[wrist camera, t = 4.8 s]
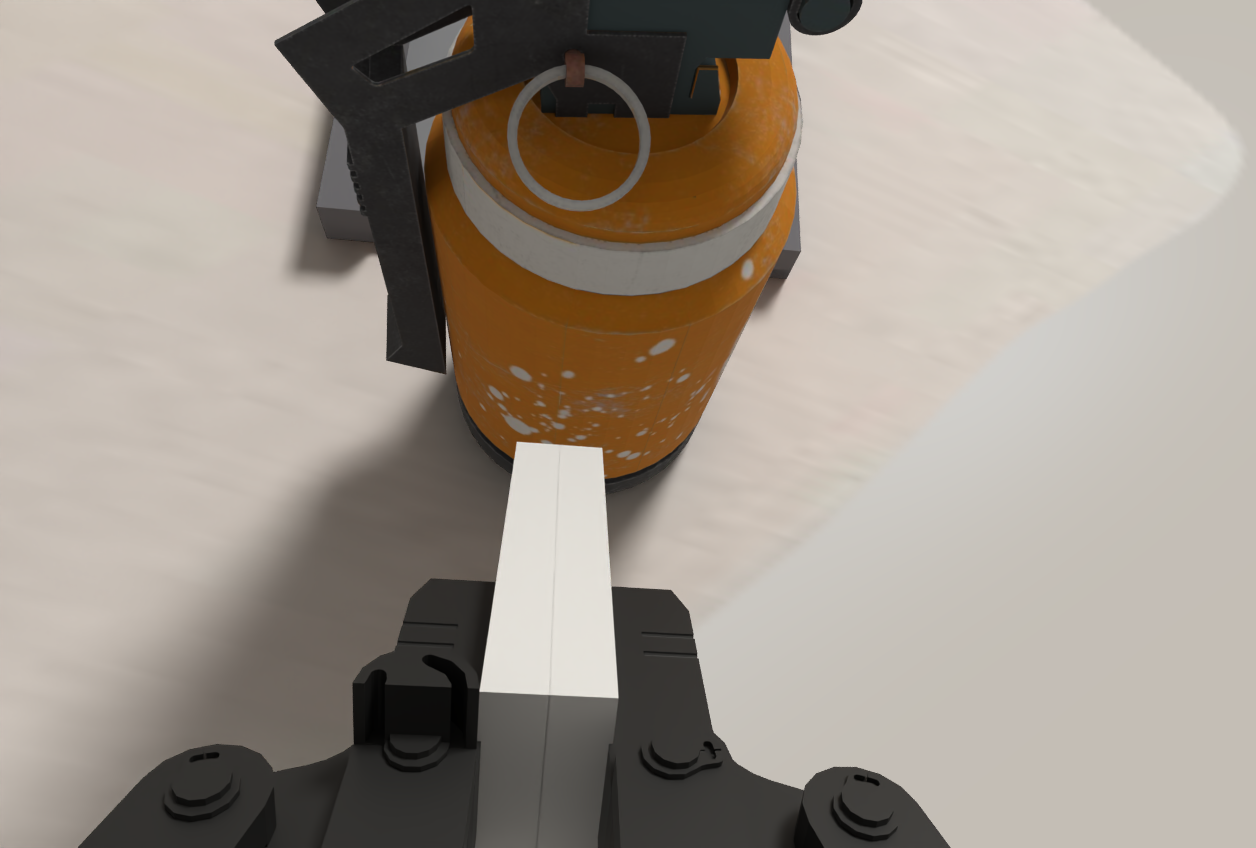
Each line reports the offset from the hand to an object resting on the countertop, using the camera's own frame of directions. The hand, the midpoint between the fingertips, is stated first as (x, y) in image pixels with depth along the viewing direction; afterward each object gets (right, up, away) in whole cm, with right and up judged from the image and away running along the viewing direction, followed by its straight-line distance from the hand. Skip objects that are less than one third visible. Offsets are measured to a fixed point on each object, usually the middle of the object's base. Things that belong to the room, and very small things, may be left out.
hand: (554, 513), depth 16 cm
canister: (-2, +3, +17) cm, 17 cm away
